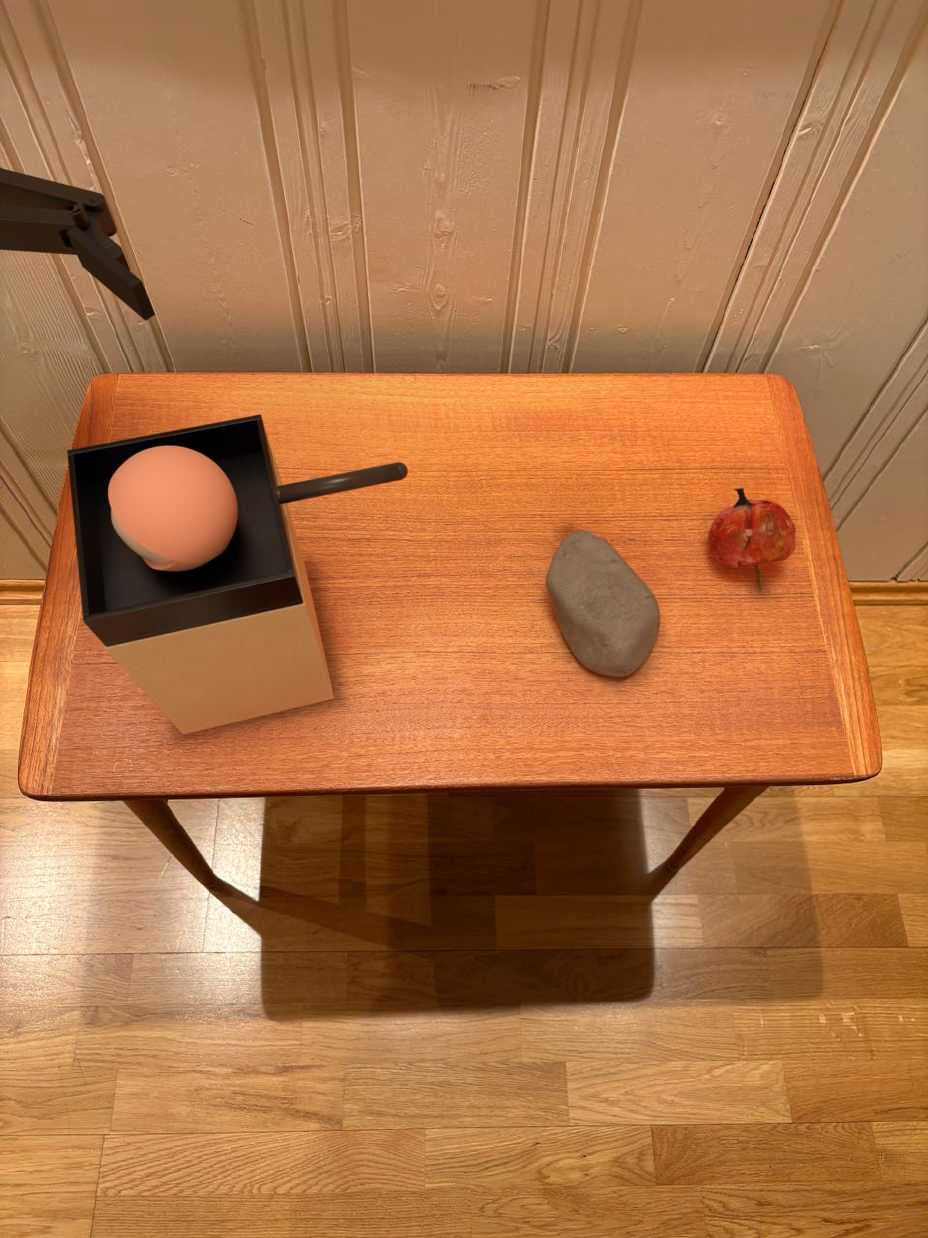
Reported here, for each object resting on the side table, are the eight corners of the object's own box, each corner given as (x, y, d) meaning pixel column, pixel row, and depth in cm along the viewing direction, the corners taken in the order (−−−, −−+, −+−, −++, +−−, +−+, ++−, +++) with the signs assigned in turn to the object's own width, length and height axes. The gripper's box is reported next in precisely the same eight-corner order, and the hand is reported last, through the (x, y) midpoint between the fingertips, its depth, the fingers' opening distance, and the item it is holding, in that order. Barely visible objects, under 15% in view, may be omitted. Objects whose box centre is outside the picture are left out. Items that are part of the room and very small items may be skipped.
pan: (106, 647, 54) (82, 621, 50) (89, 484, 59) (66, 449, 55) (430, 575, 57) (431, 545, 53) (388, 426, 62) (385, 389, 58)
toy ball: (123, 505, 58) (80, 434, 51) (235, 479, 59) (209, 406, 52) (141, 605, 55) (98, 545, 48) (259, 576, 56) (234, 513, 49)
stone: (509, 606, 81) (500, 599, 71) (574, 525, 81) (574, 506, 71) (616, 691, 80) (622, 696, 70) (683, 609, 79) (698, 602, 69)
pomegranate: (781, 575, 82) (769, 474, 80) (816, 590, 75) (805, 480, 73) (707, 591, 82) (693, 491, 80) (736, 608, 75) (722, 498, 73)
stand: (183, 735, 71) (104, 649, 54) (164, 600, 76) (87, 483, 59) (334, 698, 73) (305, 604, 56) (306, 570, 78) (272, 447, 61)
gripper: (40, 146, 62) (228, 299, 57) (-287, 326, 54) (-105, 525, 49) (-7, 41, 56) (201, 203, 50) (-390, 229, 47) (-192, 447, 42)
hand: (51, 362), depth 49 cm, fingers open, 13 cm apart
